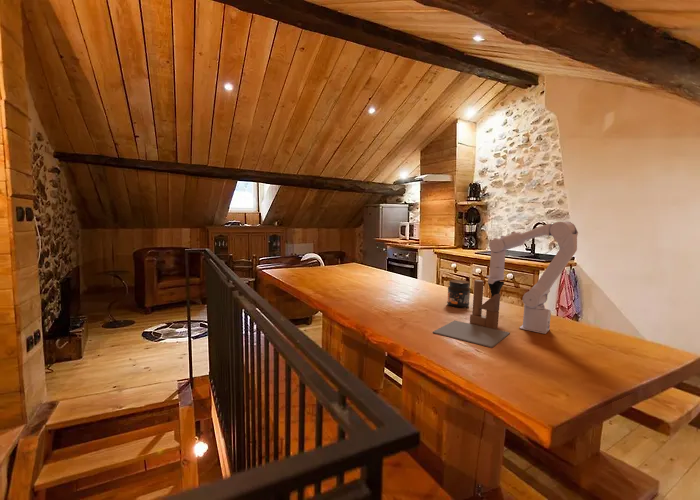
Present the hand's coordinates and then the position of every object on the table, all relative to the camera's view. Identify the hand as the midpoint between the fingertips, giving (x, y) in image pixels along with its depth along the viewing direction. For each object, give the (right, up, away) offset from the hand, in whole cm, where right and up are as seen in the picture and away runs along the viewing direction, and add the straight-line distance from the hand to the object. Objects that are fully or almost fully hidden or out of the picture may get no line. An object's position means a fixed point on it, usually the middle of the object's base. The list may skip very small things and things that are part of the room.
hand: (494, 298), depth 158 cm
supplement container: (-9, -7, +24) cm, 26 cm away
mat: (-16, -11, -18) cm, 27 cm away
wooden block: (-8, -10, -8) cm, 15 cm away
